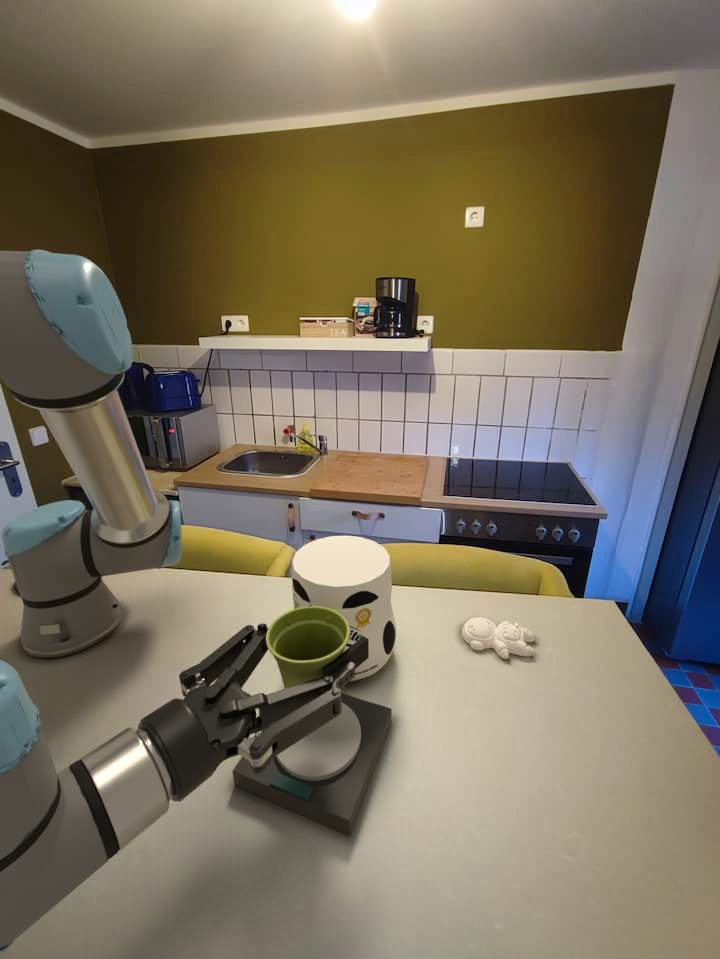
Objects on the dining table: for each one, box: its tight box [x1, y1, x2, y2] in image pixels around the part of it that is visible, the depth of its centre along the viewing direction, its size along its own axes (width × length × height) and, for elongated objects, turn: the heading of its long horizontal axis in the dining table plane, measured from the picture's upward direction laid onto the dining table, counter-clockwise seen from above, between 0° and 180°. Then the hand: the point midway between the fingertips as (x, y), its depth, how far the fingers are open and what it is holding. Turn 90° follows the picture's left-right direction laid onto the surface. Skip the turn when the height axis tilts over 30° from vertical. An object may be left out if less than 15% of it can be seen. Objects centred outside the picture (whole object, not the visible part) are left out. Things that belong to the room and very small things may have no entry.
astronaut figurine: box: [461, 616, 536, 660], centre depth 74 cm, size 9×12×3 cm
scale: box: [231, 692, 393, 837], centre depth 55 cm, size 15×15×3 cm
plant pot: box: [266, 606, 350, 689], centre depth 50 cm, size 9×9×9 cm
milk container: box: [290, 535, 397, 683], centre depth 69 cm, size 17×17×18 cm
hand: (337, 629), depth 53 cm, fingers closed on plant pot, 8 cm apart
